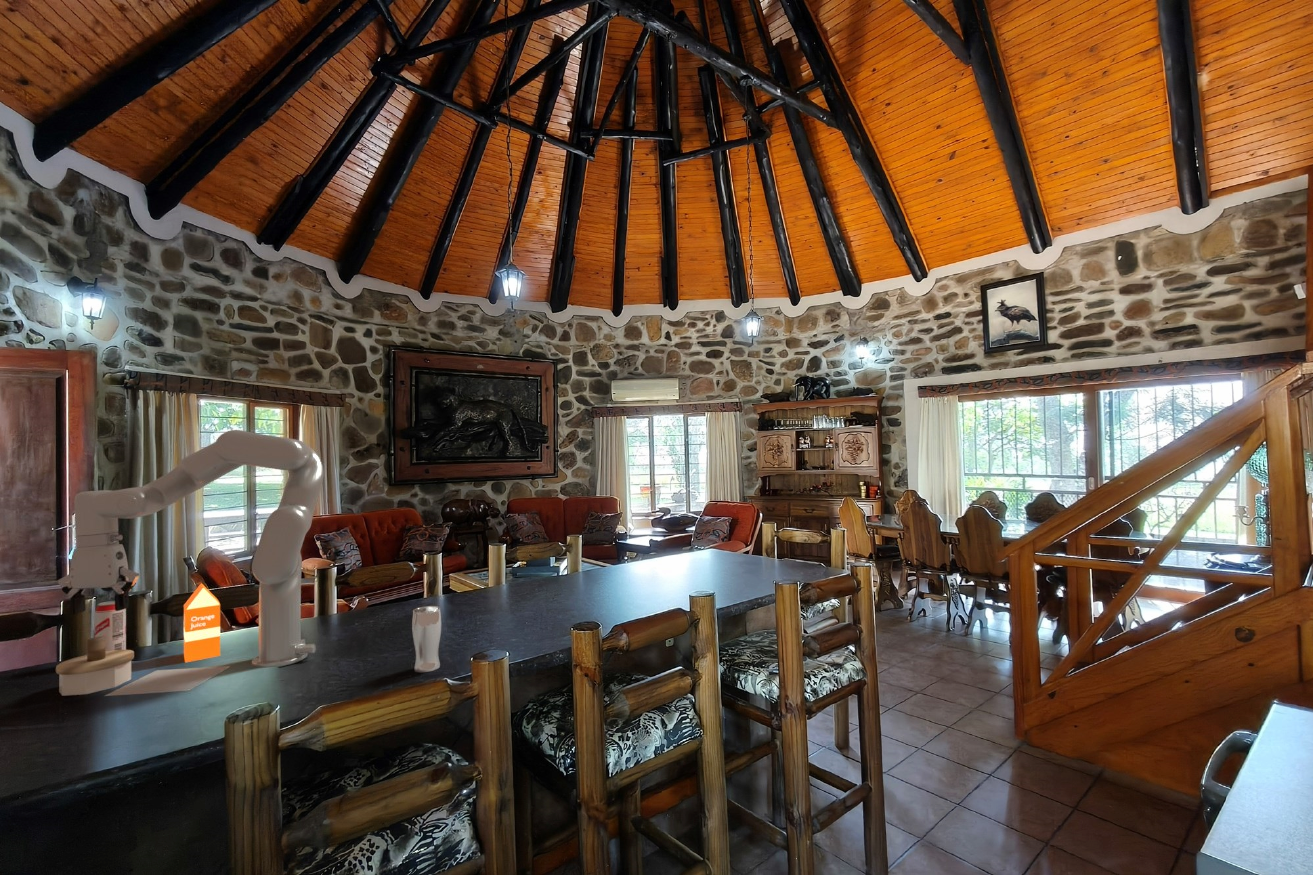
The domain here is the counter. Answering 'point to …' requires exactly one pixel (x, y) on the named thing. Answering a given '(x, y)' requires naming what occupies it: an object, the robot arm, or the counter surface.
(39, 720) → the counter surface
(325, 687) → the counter surface
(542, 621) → the counter surface
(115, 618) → the beer can
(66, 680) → the bowl
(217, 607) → the orange juice
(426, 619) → the beer glass
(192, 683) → the mat
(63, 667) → the lid
